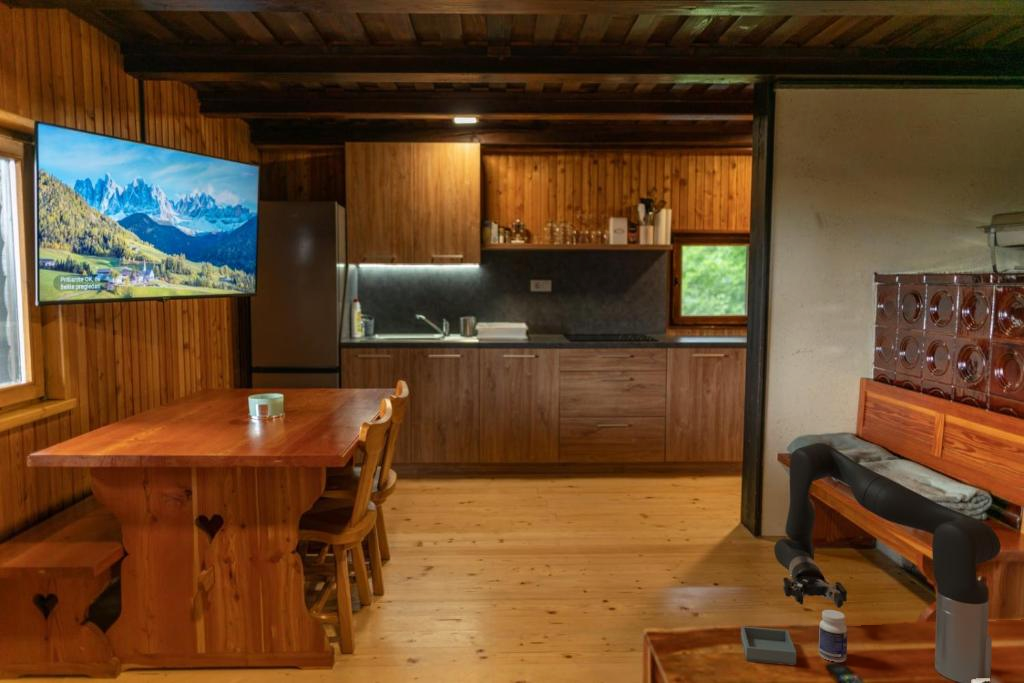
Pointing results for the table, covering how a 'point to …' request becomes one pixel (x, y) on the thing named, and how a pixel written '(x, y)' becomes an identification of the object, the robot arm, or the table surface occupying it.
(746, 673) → the table surface
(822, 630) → the pill bottle
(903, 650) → the table surface
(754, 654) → the tray
